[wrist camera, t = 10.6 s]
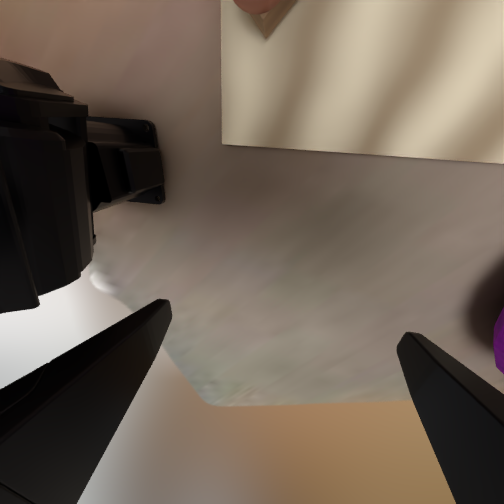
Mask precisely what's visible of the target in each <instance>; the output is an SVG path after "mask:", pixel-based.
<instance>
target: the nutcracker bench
mask: <svg viewBox="0 0 504 504" xmlns="http://www.w3.org/2000/svg"><path fill="white" fill-rule="evenodd" d="M221 90H222V144H228V145H242V146H256V147H271V148H285V149H299V150H313V151H328V152H342V153H356V154H371V155H385V156H399V157H414V158H428V159H442V160H457V161H471V162H485V163H500V164H504V0H296V1H295V3H294V4H293V5H292V7H291V8H290V9H289V10H288V12H287V13H286V14H285V15H284V17H283V18H282V19H281V20H280V22H279V23H278V24H277V25H276V27H275V28H274V29H273V31H272V32H271V33H270V34H269V36H268V37H267V38H266V39H265V37H264V36H263V34H262V33H261V31H260V29H259V28H258V26H257V25H256V23H255V22H254V20H253V19H252V17H251V16H250V14H249V13H247V12H245V11H243V10H242V9H240V8H239V7H238V6H237V5H236V4H235V2H234V1H233V0H221Z"/></svg>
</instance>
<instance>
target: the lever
mask: <svg viewBox="0 0 504 504" xmlns="http://www.w3.org/2000/svg"><path fill="white" fill-rule="evenodd" d="M233 1H234V2H235V4H236V5H237V6H238V7H239V8H240V9H242V10H243V11H245V12H247V13H249V14H250V16H251V17H252V19H253V20H254V22H255V23H256V25H257V26H258V28H259V29H260V31H261V33H262V34H263V36H264V37H265V39H266V38H267V37H268V36H269V34H270V33H271V32H272V31H273V29H274V28H275V27H276V25H277V24H278V23H279V22H280V20H281V19H282V18H283V17H284V15H285V14H286V13H287V12H288V10H289V9H290V8H291V7H292V5H293V4H294V3H295V1H296V0H233Z"/></svg>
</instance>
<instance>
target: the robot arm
mask: <svg viewBox="0 0 504 504" xmlns="http://www.w3.org/2000/svg"><path fill="white" fill-rule="evenodd" d="M87 116H88V105H87V104H84V103H82V102H79V101H77V100H74V97H73V96H71V95H68V94H66V93H64V92H63V91H62V90H60V88H59V87H58V86H57V84H56V83H55V81H54V80H53V79H52V77H51V76H50V74H49V73H46V72H44V71H41V70H38V69H36V68H32V67H29V66H26V65H23V64H20V63H17V62H13V61H10V60H7V59H4V58H0V314H1V313H6V312H12V311H20V310H27V309H33V308H36V307H38V306H39V305H40V303H39V299H38V296H40V295H43V294H46V293H49V292H51V291H54V290H56V289H59V288H62V287H64V286H66V285H68V284H70V283H72V282H73V281H75V280H77V279H79V278H80V277H81V271H83V270H84V269H85V268H86V266H87V265H88V264H89V263H90V262H91V261H92V257H93V252H94V249H93V246H94V244H95V243H96V235H95V234H94V225H93V213H94V212H97V211H99V210H102V209H105V208H108V207H111V206H113V205H116V204H119V203H122V202H125V201H130V202H140V203H150V204H162V203H164V202H165V193H164V186H163V183H164V176H163V169H162V162H161V155H160V151H159V150H158V145H157V138H156V131H155V126H154V125H153V123H152V122H151V121H147V120H136V119H120V118H103V117H87ZM146 125H148V126H149V131H147V129H146ZM158 196H159V197H160V200H158V198H157V197H158ZM171 320H172V311H171V306H170V301H169V300H166V299H157V300H155V301H153V302H152V303H150V304H148V305H147V306H145V307H143V308H141V309H140V310H138V311H136V312H134V313H133V314H131V315H129V316H128V317H126V318H124V319H122V320H121V321H119V322H117V323H116V324H114V325H112V326H110V327H108V328H107V329H105V330H103V331H102V332H100V333H98V334H96V335H95V336H93V337H91V338H89V339H88V340H86V341H84V342H83V343H81V344H79V345H77V346H76V347H74V348H72V349H70V350H69V351H67V352H65V353H63V354H62V355H60V356H58V357H56V358H55V359H53V360H52V361H50V363H46V364H44V365H43V366H41V367H39V368H37V369H36V370H34V371H32V372H31V373H29V374H27V375H25V376H23V377H21V378H20V379H18V380H16V381H14V382H13V383H11V384H9V385H7V386H5V387H4V388H2V389H0V504H77V502H78V500H79V498H80V496H81V495H82V493H83V491H84V489H85V487H86V485H87V484H88V482H89V480H90V478H91V476H92V474H93V472H94V471H95V469H96V467H97V465H98V463H99V461H100V459H101V458H102V456H103V454H104V452H105V450H106V448H107V446H108V445H109V443H110V441H111V439H112V437H113V436H114V434H115V432H116V430H117V428H118V426H119V424H120V422H121V421H122V419H123V417H124V415H125V413H126V411H127V409H128V408H129V406H130V404H131V402H132V400H133V399H134V397H135V395H136V393H137V391H138V389H139V387H140V385H141V384H142V382H143V380H144V378H145V376H146V375H147V372H148V370H149V369H150V367H151V365H152V363H153V361H154V360H155V357H156V355H157V353H158V351H159V349H160V346H161V344H162V341H163V339H164V337H165V334H166V332H167V329H168V327H169V325H170V322H171ZM397 355H398V358H399V361H400V364H401V367H402V370H403V373H404V376H405V380H406V383H407V386H408V389H409V392H410V395H411V398H412V400H413V403H414V405H415V408H416V410H417V412H418V414H419V417H420V419H421V422H422V424H423V426H424V428H425V431H426V434H427V436H428V438H429V440H430V443H431V445H432V448H433V450H434V452H435V455H436V457H437V459H438V462H439V464H440V466H441V469H442V471H443V474H444V476H445V478H446V481H447V483H448V485H449V488H450V490H451V492H452V495H453V497H454V500H455V502H456V504H504V394H503V393H501V392H500V391H498V390H497V389H496V388H494V387H493V386H492V385H490V384H489V383H487V382H486V381H485V380H483V379H482V378H481V377H479V376H478V375H476V374H475V373H474V372H472V371H471V370H470V369H468V368H467V367H466V366H464V365H463V364H461V363H460V362H459V361H457V360H456V359H455V358H453V357H452V356H450V355H449V354H448V353H446V352H445V351H444V350H442V349H441V348H439V347H438V346H437V345H435V344H434V343H433V342H431V341H430V340H429V339H427V338H426V337H424V336H423V335H422V334H419V333H414V332H406V333H405V334H404V335H403V337H402V338H401V340H400V342H399V343H398V345H397Z"/></svg>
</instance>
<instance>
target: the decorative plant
mask: <svg viewBox="0 0 504 504" xmlns="http://www.w3.org/2000/svg"><path fill="white" fill-rule="evenodd" d="M493 347H494V354H495V361H496V367H497V368H498V369H499V370H500V371H501V372H502V373H503V374H504V307H503V309H502V311H501V313H500V315H499V317H498V319H497V321H496V324H495V326H494V338H493Z"/></svg>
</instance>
